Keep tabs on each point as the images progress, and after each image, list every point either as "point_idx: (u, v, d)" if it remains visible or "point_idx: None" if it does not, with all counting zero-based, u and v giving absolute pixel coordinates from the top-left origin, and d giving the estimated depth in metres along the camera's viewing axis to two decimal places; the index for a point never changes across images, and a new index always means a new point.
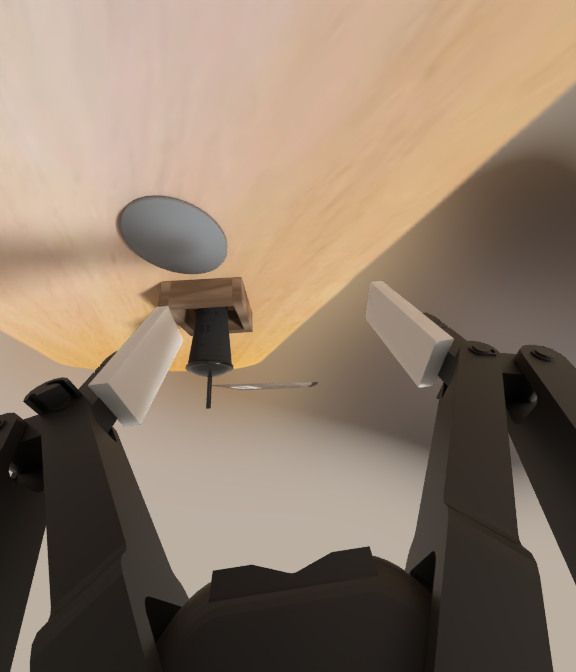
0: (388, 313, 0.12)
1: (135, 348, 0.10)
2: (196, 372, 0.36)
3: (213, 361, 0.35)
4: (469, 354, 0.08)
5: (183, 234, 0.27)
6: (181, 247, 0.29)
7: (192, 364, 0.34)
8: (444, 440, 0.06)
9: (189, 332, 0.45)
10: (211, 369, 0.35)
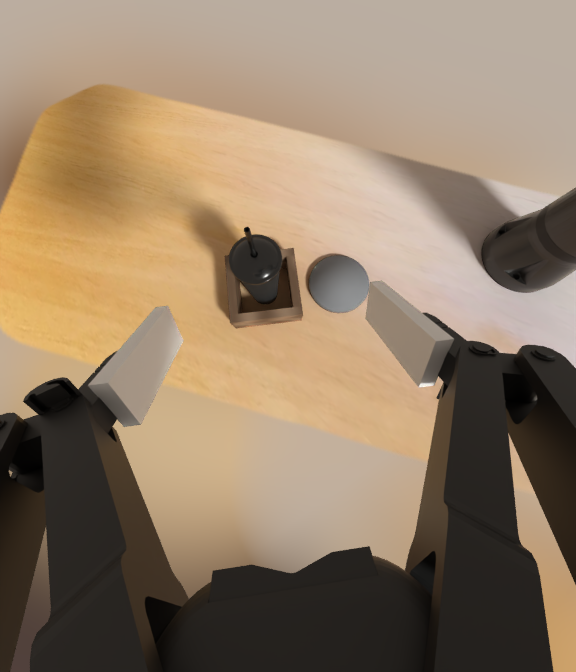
0: (388, 313, 0.12)
1: (135, 348, 0.10)
2: (263, 243, 0.31)
3: (280, 267, 0.31)
4: (469, 354, 0.08)
5: (348, 288, 0.44)
6: (336, 284, 0.44)
7: (277, 245, 0.32)
8: (444, 440, 0.06)
9: None
10: (272, 261, 0.31)
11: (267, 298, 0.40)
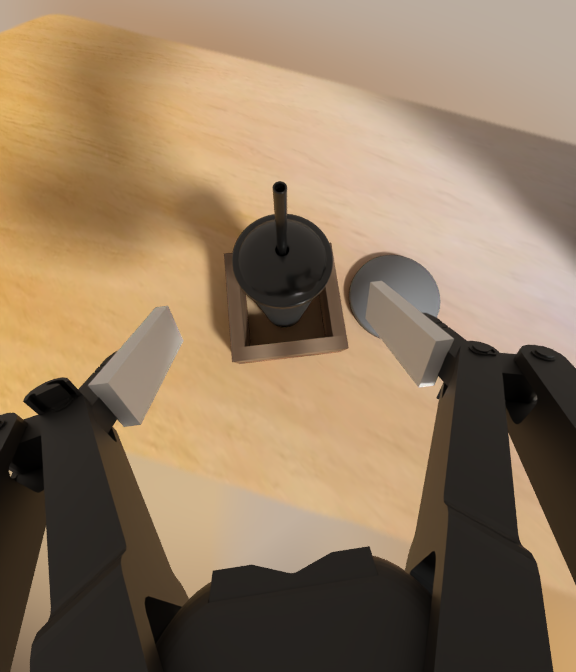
0: (388, 314, 0.12)
1: (135, 348, 0.10)
2: (299, 229, 0.16)
3: None
4: (469, 354, 0.08)
5: None
6: None
7: (323, 234, 0.17)
8: (444, 440, 0.06)
9: None
10: (316, 263, 0.16)
11: (291, 321, 0.25)
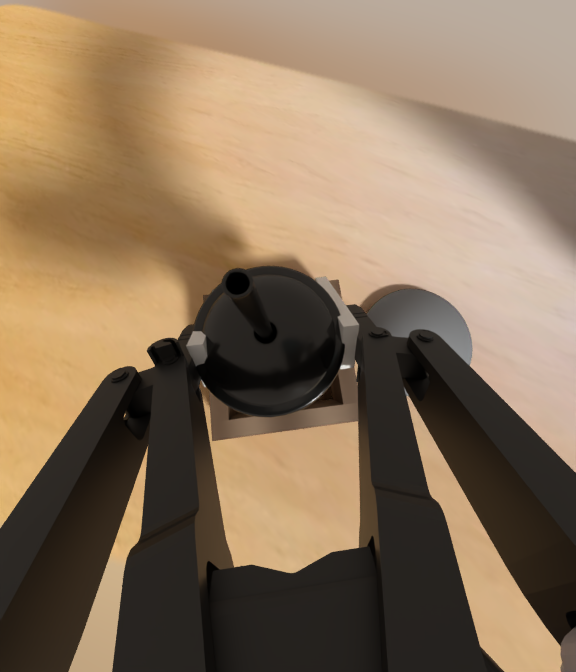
0: None
1: None
2: (293, 294, 0.10)
3: None
4: (370, 339, 0.09)
5: None
6: None
7: (329, 296, 0.11)
8: (364, 423, 0.07)
9: None
10: (319, 349, 0.10)
11: None
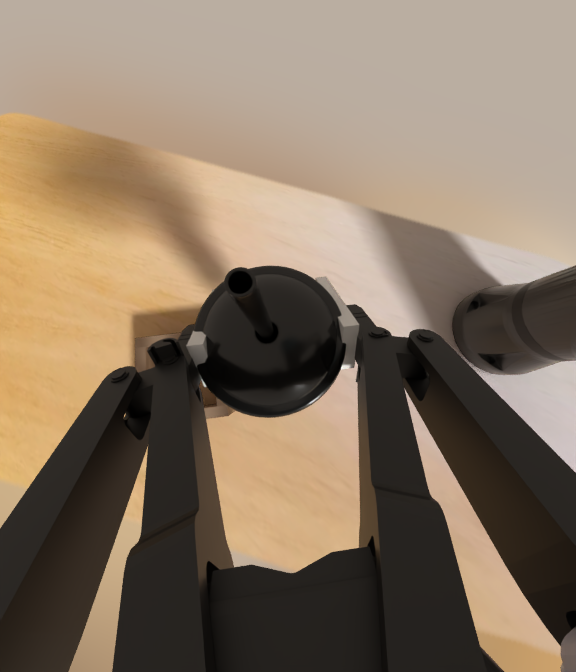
0: None
1: None
2: (294, 294, 0.10)
3: None
4: (370, 339, 0.09)
5: None
6: None
7: (330, 296, 0.11)
8: (364, 422, 0.07)
9: (147, 338, 0.33)
10: (320, 349, 0.10)
11: None
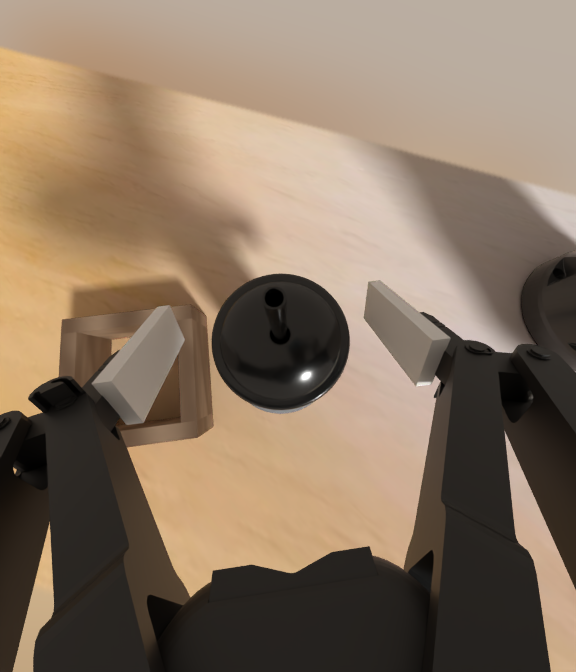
0: (386, 313, 0.12)
1: (138, 347, 0.10)
2: (303, 300, 0.12)
3: None
4: (465, 353, 0.08)
5: None
6: None
7: (335, 300, 0.13)
8: (441, 439, 0.06)
9: (79, 320, 0.22)
10: (327, 348, 0.11)
11: None
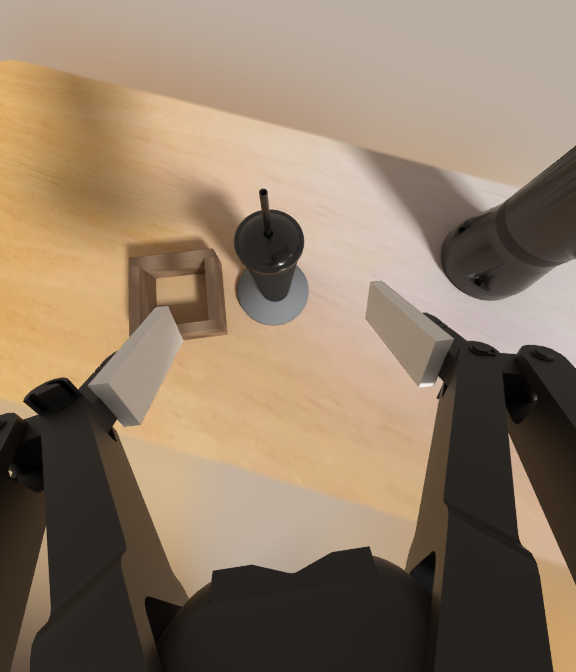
0: (388, 313, 0.12)
1: (135, 348, 0.10)
2: (280, 219, 0.24)
3: (302, 250, 0.24)
4: (469, 354, 0.08)
5: None
6: None
7: (297, 223, 0.24)
8: (444, 440, 0.06)
9: (140, 258, 0.34)
10: (291, 242, 0.23)
11: (279, 294, 0.33)
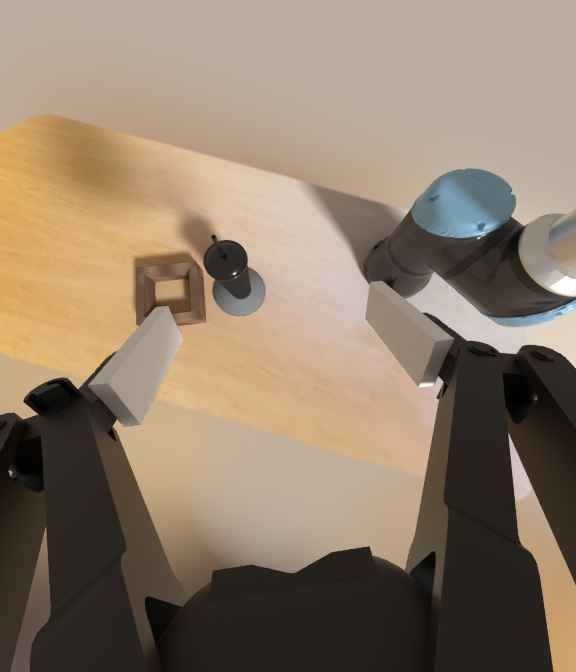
0: (388, 313, 0.12)
1: (135, 348, 0.10)
2: (231, 247, 0.38)
3: (246, 266, 0.39)
4: (469, 354, 0.08)
5: None
6: None
7: (243, 248, 0.39)
8: (444, 440, 0.06)
9: (144, 268, 0.49)
10: (238, 261, 0.38)
11: (241, 293, 0.47)
